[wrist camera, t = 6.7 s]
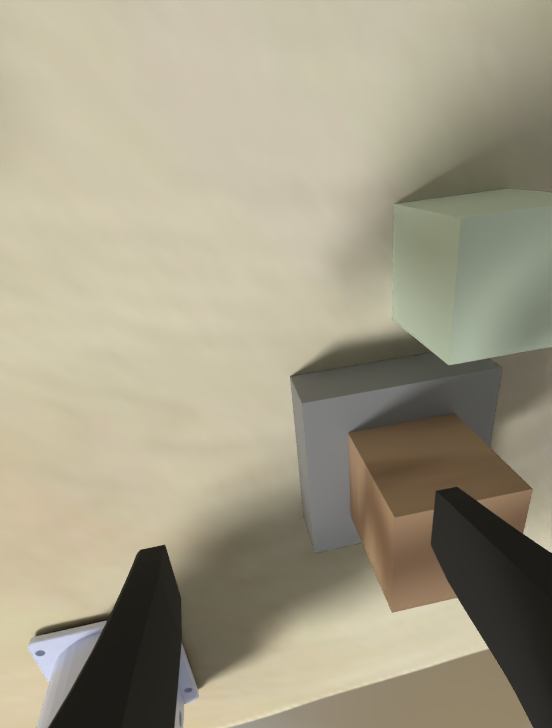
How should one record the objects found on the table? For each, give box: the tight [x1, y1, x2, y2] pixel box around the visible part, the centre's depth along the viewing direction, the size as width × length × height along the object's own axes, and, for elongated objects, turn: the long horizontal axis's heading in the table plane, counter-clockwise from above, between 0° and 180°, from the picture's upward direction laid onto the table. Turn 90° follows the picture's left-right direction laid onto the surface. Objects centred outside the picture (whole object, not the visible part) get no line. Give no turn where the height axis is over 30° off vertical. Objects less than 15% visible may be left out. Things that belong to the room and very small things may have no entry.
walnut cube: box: [348, 413, 532, 613], centre depth 18 cm, size 5×5×5 cm
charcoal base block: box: [290, 352, 502, 553], centre depth 21 cm, size 9×9×3 cm
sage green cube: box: [392, 188, 552, 365], centre depth 16 cm, size 5×5×5 cm
